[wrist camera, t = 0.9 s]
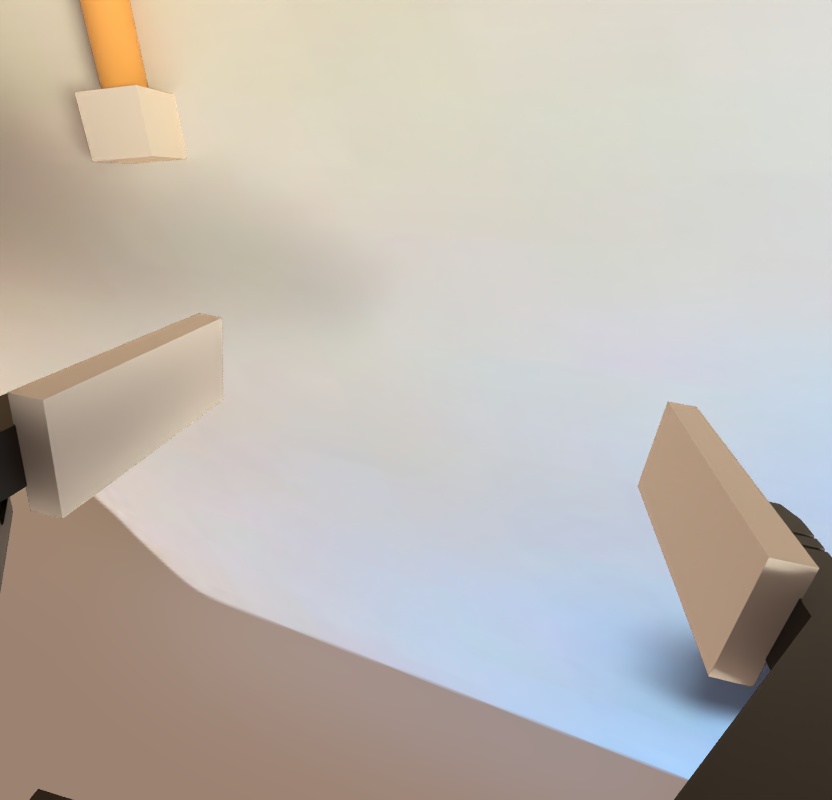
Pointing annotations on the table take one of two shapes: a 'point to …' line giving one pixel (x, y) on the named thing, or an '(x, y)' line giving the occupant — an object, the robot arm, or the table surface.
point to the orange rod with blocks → (125, 94)
